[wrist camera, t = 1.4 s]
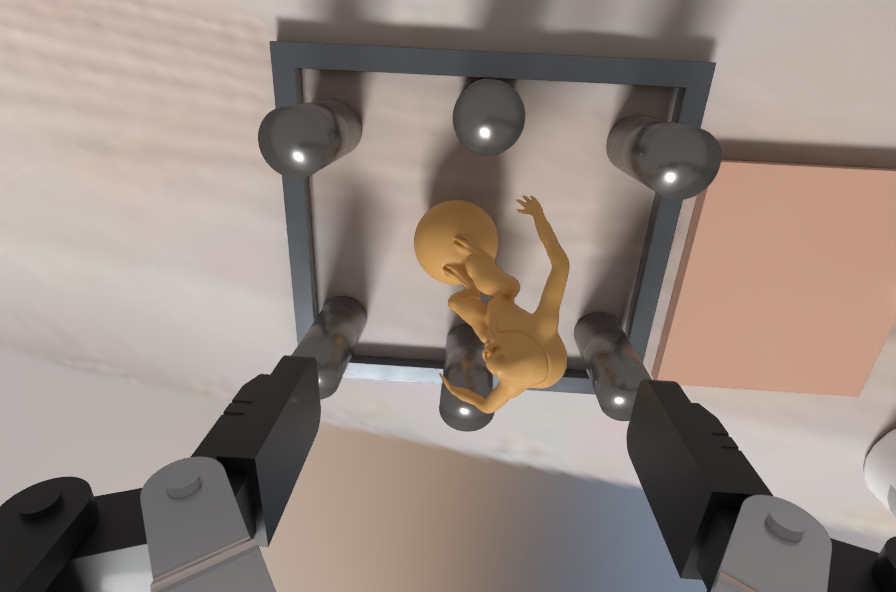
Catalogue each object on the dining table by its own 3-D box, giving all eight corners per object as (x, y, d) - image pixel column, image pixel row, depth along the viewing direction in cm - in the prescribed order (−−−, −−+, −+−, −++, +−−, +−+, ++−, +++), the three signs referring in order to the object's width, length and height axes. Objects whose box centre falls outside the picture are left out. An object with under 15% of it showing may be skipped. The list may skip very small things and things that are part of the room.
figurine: (450, 136, 23) (427, 189, 12) (566, 183, 24) (644, 274, 13) (395, 286, 26) (338, 435, 15) (498, 324, 27) (514, 493, 16)
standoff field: (708, 63, 21) (789, 58, 16) (630, 388, 28) (667, 463, 23) (276, 42, 22) (209, 30, 16) (304, 366, 29) (264, 434, 23)
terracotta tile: (948, 171, 22) (964, 175, 22) (848, 388, 27) (858, 396, 27) (707, 158, 23) (714, 161, 22) (651, 375, 28) (656, 383, 27)
